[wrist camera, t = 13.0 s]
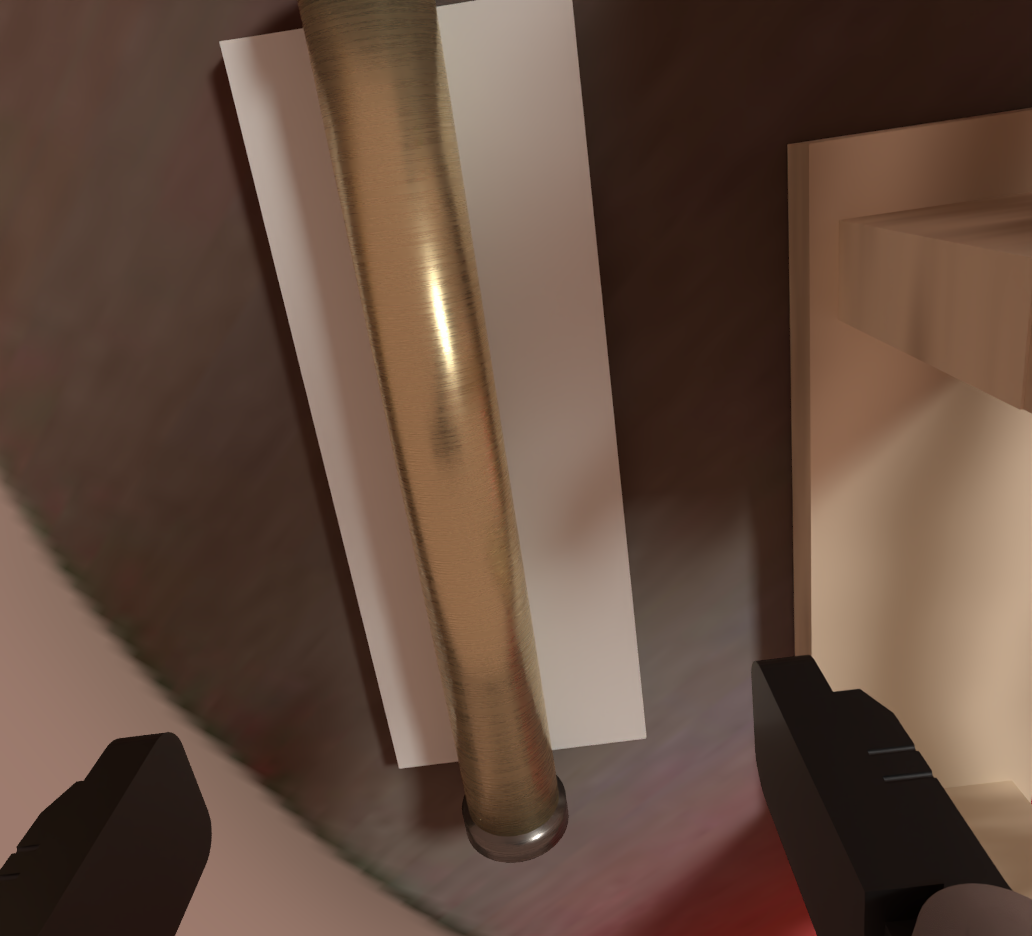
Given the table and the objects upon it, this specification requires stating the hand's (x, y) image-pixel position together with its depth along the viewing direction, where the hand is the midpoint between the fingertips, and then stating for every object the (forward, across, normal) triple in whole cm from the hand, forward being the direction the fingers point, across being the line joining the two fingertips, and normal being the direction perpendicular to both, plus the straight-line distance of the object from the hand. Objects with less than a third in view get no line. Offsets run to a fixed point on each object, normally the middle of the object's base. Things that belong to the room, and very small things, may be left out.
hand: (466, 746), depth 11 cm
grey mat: (+12, +1, 0) cm, 12 cm away
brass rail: (+11, 0, 0) cm, 11 cm away
